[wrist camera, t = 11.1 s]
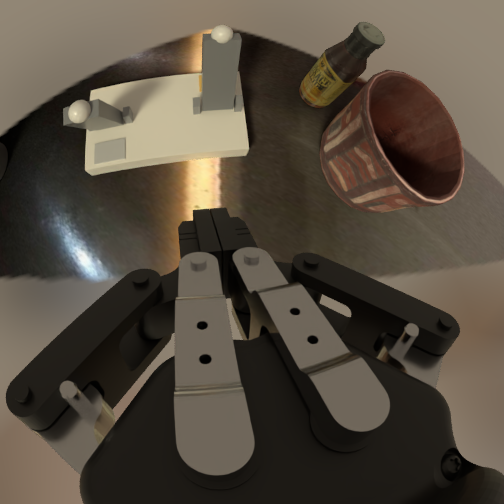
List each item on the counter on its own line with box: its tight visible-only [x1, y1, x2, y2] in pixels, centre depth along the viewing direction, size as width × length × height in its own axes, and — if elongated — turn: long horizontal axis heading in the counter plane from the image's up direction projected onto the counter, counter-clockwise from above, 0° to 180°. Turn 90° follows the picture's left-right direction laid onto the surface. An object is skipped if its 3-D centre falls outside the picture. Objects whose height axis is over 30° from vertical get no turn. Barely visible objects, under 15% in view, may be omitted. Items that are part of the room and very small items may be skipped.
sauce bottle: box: [299, 22, 385, 108], centre depth 33 cm, size 6×6×20 cm
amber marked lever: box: [202, 25, 242, 111], centre depth 30 cm, size 3×4×14 cm, turn 96°
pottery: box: [319, 70, 464, 213], centre depth 36 cm, size 18×18×18 cm
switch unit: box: [85, 71, 249, 175], centre depth 36 cm, size 14×24×5 cm, turn 97°
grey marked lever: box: [63, 99, 124, 131], centre depth 28 cm, size 3×4×14 cm, turn 97°
